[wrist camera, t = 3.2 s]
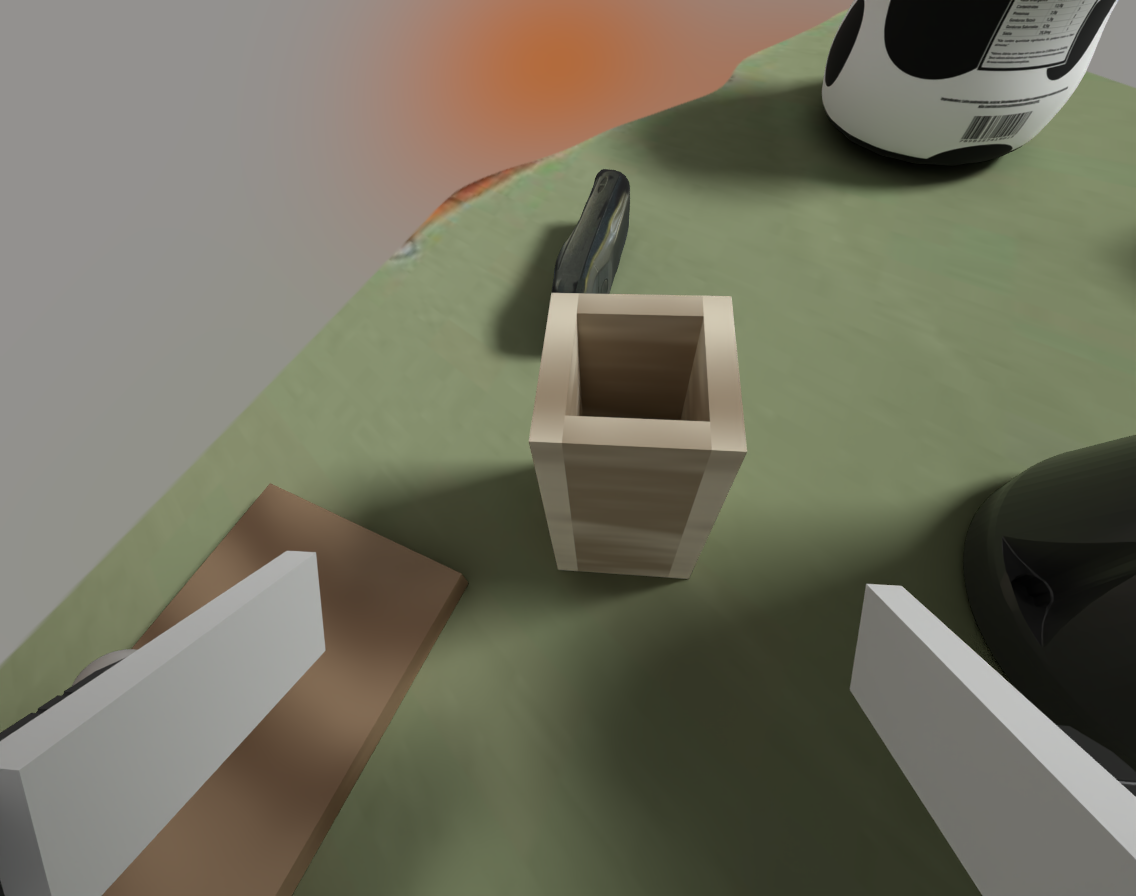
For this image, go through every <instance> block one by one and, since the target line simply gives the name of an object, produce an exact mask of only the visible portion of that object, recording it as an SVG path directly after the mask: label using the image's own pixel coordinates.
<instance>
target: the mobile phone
mask: <svg viewBox="0 0 1136 896" xmlns="http://www.w3.org/2000/svg"><path fill="white" fill-rule="evenodd" d="M629 210H630V185H629V181H628V179H627V178H626V176H625V175H624V174H622V173H621V172H618V171H615V170H608V169H603V170H601V171H600V172H599V173H598V174H597V175H596V178H595V182H594V185H593V188H592V191H591V193H590V196H589V198H588V200H587V203H586V205H585V207H584V210H583V212H582V215H581V217H580V220H579V222H578V224H577V226H576V227H575V228H574V230H573V232H572V233H571V235H570V237H569V238H568V240H567V241H566V242H565V243H564V245H563V247H562V249H561V251H560V253H559V255H558V258H557V261H556V265H555V271H554V280H553V286H552V293H584V294H609V293H610V290H611V286H612V283H613V279H614V276H615V274H616V271H617V268H618V265H619V261H620V257H621V254H622V250H623V247H624V244H625V241H626V237H627V232H628V226H629Z"/></svg>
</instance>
